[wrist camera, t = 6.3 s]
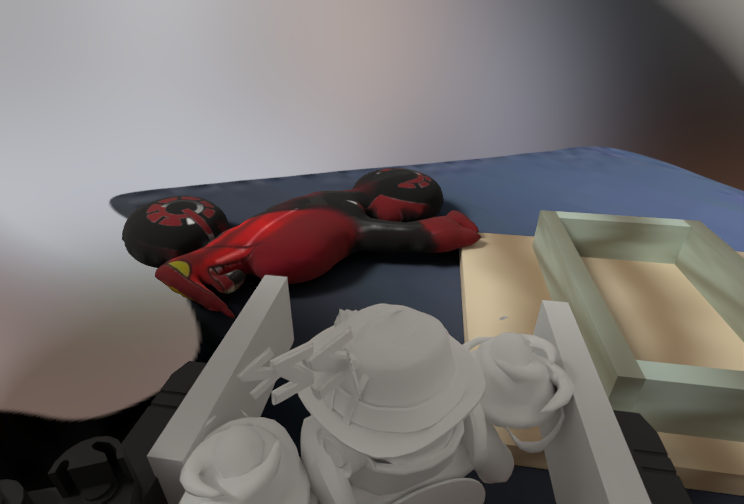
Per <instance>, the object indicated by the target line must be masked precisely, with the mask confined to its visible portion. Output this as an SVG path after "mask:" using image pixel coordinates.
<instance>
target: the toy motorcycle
mask: <svg viewBox="0 0 744 504" xmlns="http://www.w3.org/2000/svg"><path fill="white" fill-rule="evenodd" d="M442 205H443V194H442V191H441V188H440V186H439V185H438V183H437V182H436V181H435V180H433V179H432V178H431V177H429V176H427V175H425V174H423V173H420V172H417V171H414V170H409V169H401V168H388V169H380V170H376V171H373V172H370V173H368V174H366V175H364V176H363V177H361V178H360V179H359V180H358V181H357V182H356V183H355V185H354V187H353V189H352V190H345V191H320V192H315V193H311V194H308V195H306V196H302V197H297V198H294V199H290V200H288V201H285V202H283V203H280V204H277V205H275V206H272V207H270V208H269V209H267V210H265V211H264V212H262V213H260V214H257V215H255V216H253V217H251V218H249V219H248V220H246V221H245V222H243V223H242V224H240V225H239V226H236V227H233V228H231V229H229V225H228V220H227V218H226V215H225V214H224V213H223V211H222V210H221V209H220V208H219V207H217V206H216V205H215V204H213V203H212V202H210V201H208V200H206V199H203V198H199V197H194V196H174V197H168V198H163V199H159V200H156V201H153V202H150V203H148V204H146V205H144V206H142V207H140V208H139V209H137V210H136V211H135V212H134V213H132V214H131V216H130V217H129V218H128V219H127V221H126V223H125V226H124V229H123V233H122V240H123V241H124V242H125V246H126V248H127V251H128V252H129V254H130V255H131V256H132V257H134V258H135V259H136V260H137V261H139V262H141V263H143V264H145V265H148V266H151V267H156V268H158V269H157V270H156V273H155V277H156V278H157V279H158V280H160V281H162V282H163V283H164V284H165V285H167V286H168V287H169V288H170V289H171V290H172V291H174V292H176V293H179V294H181V295H182V296H183V297H186V298H188V299H190V300H192V301H194V302H197V303H199V304H201V305H203V306H204V307H205V308H206V309H208V310H211V311H221V312H223V313H224V314H225V315H227V316H229V317H232V318H235V316H234V314H233V313H232V311H231V310H229V309H228V307H227V305H226V304H225V303H224V302H223V301H222V300H221V299H220V298H219V297H217V296H216V295H215V294H214V293H213V292H211V291H210V290H209V289H208V288H206V287H205V286H204V285H212V286H214V287H215V288H216V289H217V290H218V291H219V292H220V293H223V294H229V293H232V292H234V291H236V290H237V289H238V288H239V287H240V286H241V285H242V284H243V283H244V280H245V277H246V275H247V274H249V275H254V276H256V277H259V278H260V279H263V277H264V276H265V275H271V276H282V277H287V280H288V284H294V283H301V282H306V281H309V280H312V279H315V278H317V277H319V276H321V275H323V274H325V273H326V272H327V271H329V270H330V269H331V268H332V267H333V266H334V265H335V264H336V263H338V262H339V261H340V260H342V259H343V258H345V257H347V256H349V255H351V254H353V253H355V252H358V251H361V250H365V251H393V252H401V251H413V252H418V253H441V252H448V251H452V250H455V249H458V248H461V247H465V246H469V245H472V244H474V243H476V242H477V241H478V240H480V238H481V236H480V234H478V231H479V230H478V228H477V226H476V225H475V224H474V223H473V222H472V221H471V220H470V219H469V218H468V217H467V216H465V215H464V214H462V213H461V212H459V211H456V210H453V211H451V212H449V213H448V214H447V216H439V217H435V216H436V215H437V214H438V213H439V211H440V209H441V208H442Z"/></svg>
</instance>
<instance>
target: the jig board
mask: <svg viewBox="0 0 744 504" xmlns="http://www.w3.org/2000/svg"><path fill="white" fill-rule="evenodd" d="M478 234H480V236H481V238H480V240H478V241H477V242H476V243H474V244H472V245H469V246H465V247H461V248H459V260H460V276H461V291H462V307H463V323H464V339H465V343H466V342H468V341H470V340H472V339H474V338H477V337H496V336H499V335H500V334H502V333H508V332H514V333H519V334H529V335H533V333H534V329H535V325H536V322H537V318H538V314H539V310H540V307H541V303H542V300H547V301H558V302H568V303H569V306H570V308H571V311H572V313H573V315H574V318H575V320H576V323H577V325H578V327H579V330H580V332H581V335H582V337H583V339H584V342H585V344H586V347H587V349H588V352H589V354H590V356H591V359H592V361H593V364H594V366H595V368H596V371H597V373H598V376H599V378H600V380H601V383H602V385H603V388H604V390H605V393H606V395H607V397H608V400H609V402H610V405H611V407H612V409H613V410H618V411H626V412H634V413H640V414H641V415H642V417H643V418H644V419H645V420H646V421H647V422H648V423H649V424H650V425H651V426H652V427H653V428H654V429H655V430H656V432H657V433H658V435H659V437H660V439H661V441H662V443H663V445H664V447H665V449H666V451H667V453H668V458H670V459H671V461H672V463H673V465H674V467H675V469H676V471H677V472H676V474H677V476H679V477H680V479H681V481H682V483H683V485H684V487H685V488H688V489H696V490H703V491H711V492H718V493H725V494H733V495H740V496H744V252H736V251H735V250H733V249H732V248H731V247H730V246H729V245H727V244H726V243H725V242H724V241H723V240H722V239H720V238H719V237H718V236H717V235H716V234H715V233H713V232H712V231H711V230H710V229H709V228H708V227H706V226H705V225H704V224H703V223H702V222H700V221H694V220H678V219H663V218H648V217H633V216H618V215H603V214H587V213H572V212H557V211H542V210H541V211H540V215H539V219H538V224H537V228H536V232H535V237H530V236H517V235H503V234H489V233H478ZM507 315H508V316H507ZM502 316H507V317H508V318H506V319H504V320H498V319H499V318H501V317H502ZM480 345H481V344H480ZM480 345H477V346H475V347H474V348H472V349H471V350H470V352H471V351H474V350H477V349H478V347H479V346H480ZM491 424H492V423H491ZM492 425H493V426H494V427H495V429H496V431H497V433H498V434H499V436H500V439H501V441H503V442H504V443H505V445H506V446H507V447H508V448H509V450H510V451H511V453H512V456H513V459H514V465H518V466H526V467H533V468H541V469H548V465H547V461H546V456H545V452H544V450H543V451H541V452H536V453H528V452H526V451H524V450H521V449H519V448H518V446H517V445H516V444H515V443H514V442H513V440H512V438H511V436H510V435H509V433H508V431H507V430H506V428H504V427H497V426H495V425H494V424H492ZM509 430H510V431H511V432H512V434H513V435H514V436H515V437H516V438H518V439H519V440H520V441H524V442H535V441H541V440H542V438H541V434H540V429H539V425H538V426H536V427H533V428H527V429H513V428H509ZM548 470H549V469H548Z"/></svg>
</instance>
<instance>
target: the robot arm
mask: <svg viewBox="0 0 744 504" xmlns="http://www.w3.org/2000/svg"><path fill="white" fill-rule="evenodd" d="M533 335H535V336H538V337H540V338H543V339H545V340H547V341H549V342H550V343H552V344H553V345H554V346H555V347H556V351H557V355H556V359H555V362H554V363H555V364H556V365H557V366H559V367H560V368H562V369H563V370H564V371H565V372H566V374H567V375H568V376H569V377H570V379H571V380H572V382H573V384H574V385H575V390H574V392H573V395H572V397H571V400H570V401H569V403H568V404H566V405H564V406H563V411H564V415H565V419H564V422H563V424H562V427H561V429H560V431H559V433H558V434H557V436H556V437H555V438H554V440H553V441H552V443H551V444H550V445H549V446H548V447H546V448H545V449H544V452H545V456H546V461H547V465H548V469H549V474H550V478H551V483H552V487H553V492H554V496H555V501H556V504H693V503H692V501H691V499H690V497H689V495H688V493H687V491H686V489H685V487H684V485H683V483H682V481H681V479H680V477H679V476H677V474H676V472H677V471H676V469H675V467H674V465H673V463H672V461H671V459H670V458H668V453H667V451H666V449H665V447H664V445H663V443H662V441H661V439H660V437H659V435H658V433H657V432H656V430H655V429H654V428H653V427H652V426H651V425H650V424H649V423H648V422H647V421H646V420H645V419H644V418H643V417H642V415H641V414H640V413H634V412H626V411H618V410H613V409H612V407H611V405H610V402H609V400H608V397H607V395H606V393H605V390H604V388H603V385H602V383H601V380H600V378H599V376H598V373H597V371H596V368H595V366H594V364H593V361H592V359H591V356H590V354H589V352H588V349H587V347H586V344H585V342H584V339H583V337H582V335H581V332H580V330H579V327H578V325H577V323H576V320H575V318H574V315H573V313H572V311H571V308H570V306H569V303H568V302H558V301H547V300H542V303H541V307H540V310H539V314H538V318H537V322H536V325H535V329H534V333H533ZM293 341H294V334H293V325H292V316H291V307H290V298H289V289H288V280H287V277H282V276H271V275H265V276H264V277H263V279H262V280H261V282H260V283H259V285H258V286H257V288H256V289H255V291H254V293H253V294H252V296H251V297H250V299H249V300H248V302H247V303H246V305H245V306H244V308H243V309H242V311H241V312H240V314H239V315H238V317H237V319H236V320H235V322H234V323H233V325H232V326H231V328H230V329H229V331H228V332H227V334H226V335H225V337H224V338H223V340H222V342H221V343H220V345H219V346H218V348H217V349H216V351H215V352H214V354H213V355H212V357H211V358H210V360H209V361H208V363H201V362H193V361H189V362H187V363H186V364H185V365H183V366H182V367H181V368H179V369H178V370H177V371H175V372H174V373H173V374H172V375H171V376H170V378H169V379H168V381H167V382H166V383H165V384H164V386H163V387H162V389H161V391H160V393H158V394H157V395H156V397H155V398H154V400H153V401H152V402H151V406H150V407H149V406H148V408H147V409H146V411H145V412H144V413H143V415H142V416H141V417H140V419H139V420H138V421H137V423H136V424H135V426H134V427H133V428H132V430H131V431H130V432H129V434H128V435H127V437H126V438H125V439H124V441H123V442H122V443H120V442H119V440H118V439H115V438H112V437H109V436H101V437H93V438H90V439H87V440H85V441H82V442H80V443H78V444H76V445H75V446H73V447H71V448H70V449H68V450H67V451H66V452H65V453H64V454H62V455H61V456H60V457H59V458H58V459H57V460H56V461H55V462H54V464H53V466H52V467H51V469H50V471H49V472H48V476H49V477H50V479H51V481H52V482H53V484H54V485H55V487H53V488H47V489H41V490H36V491H30V492H26V491H25V489H24V488H23V487H22V486H21V485H20V484H19V482H18V481H14V480H9V479H4V480H0V504H179V503H180V501H181V499H182V497H183V495H184V493H185V489H184V487H183V485H182V484H181V482H180V475H181V470H182V468H183V467H184V465H185V463H186V462H187V460H188V458H189V457H190V455H191V454H192V452H193V451H194V450H195V449H196V448H197V446H198V445H199V444H200V443H202V441H203V439H204V438H205V437H206V436H207V435H209V434H210V433H212V432H213V431H214V430H215V429H217V428H219V427H221V426H222V425H224V424H226V423H228V422H230V421H233V420H237V419H241V418H246V417H247V416H248V417H260V416H261V414H262V412H263V409H264V407H265V405H266V403H267V400H268V398H269V396H270V393H271V391H272V389H273V387H274V384H275V382H276V381H275V382H274V383H273V384H272V385H271V386H270V387H269V388H268V389H267V390H266V391H265V392H263V393H262V394H261V395H260V396H259V397H258V398H257V399H256V400H255V399H254V398H253V396H252V395H251V394H250V392H252V391H253V390H254V389H255V388H256V387H257V386H258V385H259V384H260V383H262V382H263V381H264V380H258V381H249V382H242V381H240V379H239V378H238V377H237V375H238V374H239V373H240V372H241V371H243V370H244V369H245V368H246V367H247V366H248V365H250V364H251V363H252V362H253V361H254V360H255V359H256V358H258V357H259V356H260V355H261V354H262V353H263V352H264V351H266V350H267V349H268V348H269V347H270V348H271V350H272V351H273V353H274V356H273V357H272V358H271V359H269V360H268V361H267V362H266V363H265V364H264V365H263V366H262V367H260V368H264V367H270V360H272V359H274V358H276V357H278V356H280V355H282V354H284V353H286V352H288V351H289V350H290V348H291V346H292V344H293ZM532 352H533V353H534V354H537V355H540V356H542V357H545V358H547V359H548V357H547V354H546V353H545V352H544V351H543V350H541V349H534V350H532ZM241 410H242V411H243V412H244V413H246V415H247V416H245V415H244V414H243V413H242V411H241ZM214 416H216V417H215V418H214V420H213V421H212V422H211V423H210V424H208V425H207V426H206V425H205V424H206V423H207V422H208V421H209V420H210V419H211V418H212V417H214ZM560 418H561V414H560V409H557V410H556V412H555V413H554V414H553V415H552V416H551V418H550V419H548V420H547V421H545V422H543V423H541V424H540V425H539V429H540V434H541V438H542V439H544V438H545V437H546V436H548V435H549V434H550V433H551V432H552V431H553V429H554V428H555V427H556V425H557V424H558V422H559V420H560Z"/></svg>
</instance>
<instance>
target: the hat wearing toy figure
mask: <svg viewBox="0 0 744 504" xmlns="http://www.w3.org/2000/svg"><path fill="white" fill-rule="evenodd" d="M507 316H508V315H507ZM507 316H502V317H501V318H499V319H498V320H504V319H506V318H508V317H507ZM480 344H481V345H480ZM477 345H480V346H479V347H478V349H477V350H474V351H471V352H470V350H471V349H472V348H474V347H475V346H477ZM534 349H541V350H543V351H544V352H545V353H546V354H547V357H548V359H547V358H545V357H542V356H540V355H537V354H534V353H533V352H532V350H534ZM556 355H557V351H556V347H555V346H554V345H553V344H552V343H550V342H549V341H547V340H545V339H543V338H540V337H538V336H535V335H529V334H519V333H514V332H508V333H502V334H500V335H499V336H496V337H477V338H474V339H472V340H470V341H468V342H466V343H464V344H463V345H461V344H460V343H459V342H458V341H456V340H455V339H454V338H453V337H452V336H450V335H449V333H448V331H447V329H446V328H445V327H444V326H443V325H442V323H441V322H440V321H439V320H438V319H436V318H435V317H433V316H430V315H428V314H426V313H422V312H419V311H417V310H414V309H412V308H409V307H406V306H401V305H389V304H376V305H373V306H370V307H367V308H364V309H362V310H360V311H357V310H354V311H351V310H348V309H346V310H345V311H344V310H342V309H339V315H338V316H337V317H336V321H335V322H334V325H333V326H331V327H330V328H328V329H326V330H324V331H322V332H321V333H319V334H318V335H316V336H315V337H313V338H312V339H311V340H310V341H309V342H307V343H305V344H303V345H301V346H298V347H296V348H294V349H292V350H290V351H288V352H286V353H284V354H282V355H280V356H278V357H276V358H274V359H272V360H270V367H264V368H260V367H262V366H263V365H264V364H265V363H266V362H267V361H268V360H269V359H271V358H272V357H273V356H274V353H273V351H272V350H271V348H270V347H269V348H268V349H267V350H266V351H264V352H263V353H262V354H261V355H260V356H259V357H258V358H256V359H255V360H254V361H253V362H252V363H251V364H250V365H248V366H247V367H246V368H245V369H244V370H243V371H241V372H240V373H239V374H238V375H237V377H238V378H239V379H240V381H242V382H249V381H258V380H264V381H263V382H262V383H260V384H259V385H258V386H257V387H256V388H255V389H254V390H253V391H252V392H250V394H251V395H252V396H253V398H254V399H255V400H256V399H257V398H258V397H259V396H260V395H261V394H262V393H263V392H265V391H266V390H267V389H268V388H269V387H270V386H271V385H272V384H273V383H274V382H275V381H276V380H278V379H279V378H280V377H282V378H284V379H286V380H289V381H290V382H288V383H286V384H284V385H282V386H280V387H278V388H277V389H275V390H273V391H272V392H271V394H272V404H273V405H276V404H278V403H280V402H282V401H284V400H286V399H287V398H289V397H291V396H293V395H294V394H296V393H298V396H299V398H300V399H301V401H302V403H303V404H304V406H305V407H306V409H307V410H308V411H309V413H310V414H311V416H309V417H307V418H305V419H304V421H303V425H302V429H301V439H300V442H301V459H300V457H299V454H298V451H297V447H296V446H295V444H294V442H293V440H292V438H291V437H290V435H289V434H288V432H287V431H286V429H285V428H284V427H283V426H281V425H280V424H279V423H278V422H276V421H275V420H272V419H268V418H264V417H248V416H247V415H246V413H244V412H243V411H242V410H241V411H242V413H243V414H244V415H245V416H247V417H246V418H241V419H237V420H233V421H230V422H228V423H226V424H224V425H222V426H221V427H219V428H217V429H215V430H214V431H213V432H212V433H210V434H209V435H207V436H206V437H205V438H204V439H203V441H202V443H200V444H199V445H198V446H197V448H196V449H195V450H194V451H193V452H192V454H191V455H190V457H189V458H188V460H187V462H186V463H185V465H184V467H183V468H182V470H181V475H180V482H181V484H182V485H183V487H184V489H185V493H184V495H183V497H182V499H181V501H180V503H179V504H483V503H484V500H485V489H484V487H483V485H482V484H481V483H480V482H479V481H477V480H475V479H471V478H463V477H465V476H466V475H467V474H468V473H470V472H472V470H474V471H476V472H477V474H478V476H479V478H480V479H481V480H482V481H483V482H484V483H489V484H491V483H498V482H501V483H503V482H507V480H508V479H509V477H510V476H511V474H512V471H513V468H514V459H513V456H512V453H511V451H510V450H509V448H508V447H507V446H506V445H505V443H504V442H503V441H501V439H500V436H499V434H498V433H497V431H496V429H495V427H494V426H493V425H492V424H494V425H495V426H497V427H504V428H506V430H507V431H508V433H509V435H510V436H511V438H512V440H513V442H514V443H515V444H516V445H517V446H518V448H519V449H521V450H524V451H526V452H528V453H536V452H541V451H543V450H544V449H545V448H546V447H548V446H549V445H550V444H551V443H552V441H553V440H554V438H555V437H556V436H557V434H558V433H559V431H560V429H561V427H562V424H563V422H564V419H565V415H564V411H563V406H564V405H566V404H568V403H569V401H570V400H571V397H572V395H573V392H574V390H575V385H574V384H573V382H572V380H571V379H570V377H569V376H568V375H567V374H566V372H565V371H564V370H563V369H562V368H560V367H559V366H557V365H556V364H555V363H554V362H555V359H556ZM557 409H560V414H561V418H560V420H559V422H558V424H557V425H556V427H555V428H554V429H553V431H552V432H551V433H550V434H549V435H548V436H546V437H545V438H544V439H542V440H541V441H535V442H524V441H520V440H519V439H518V438H516V437H515V436H514V435H513V434H512V432H511V431H510V430H509V428H513V429H527V428H533V427H536V426H538V425H540V424H541V423H543V422H545V421H547V420H548V419H550V418H551V416H552V415H553V414H554V413H555V412H556V410H557ZM215 417H216V416H214V417H212V418H211V419H210V420H209V421H208V422H207V423H206V424H205V425H206V426H207V425H208V424H210V423H211V422H212V421H213V420H214V418H215ZM491 423H492V424H491Z"/></svg>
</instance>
